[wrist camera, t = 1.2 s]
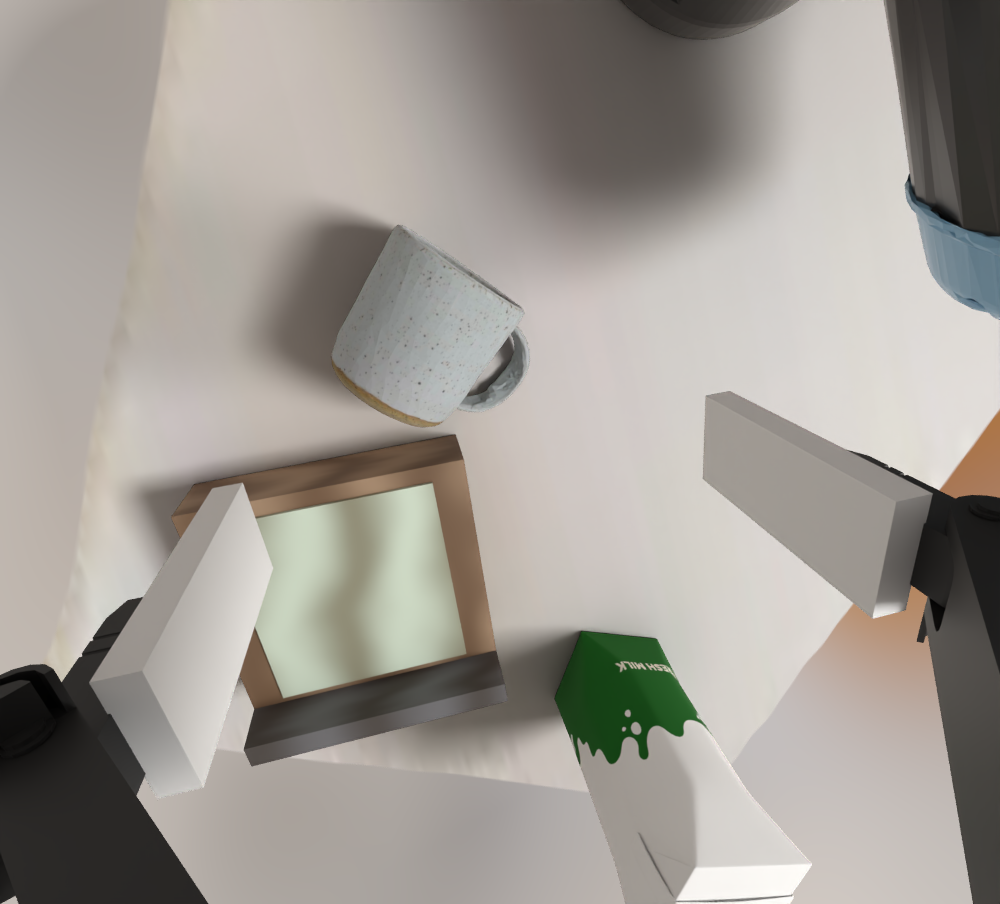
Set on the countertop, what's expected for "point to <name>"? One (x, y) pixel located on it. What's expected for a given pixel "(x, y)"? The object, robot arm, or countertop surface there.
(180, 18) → the countertop surface
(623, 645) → the milk carton
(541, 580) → the countertop surface
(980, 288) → the robot arm
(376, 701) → the step
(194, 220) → the countertop surface
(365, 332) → the ceramic mug
